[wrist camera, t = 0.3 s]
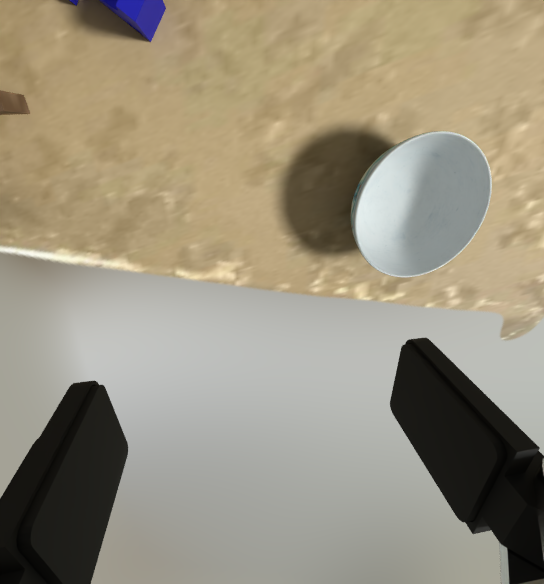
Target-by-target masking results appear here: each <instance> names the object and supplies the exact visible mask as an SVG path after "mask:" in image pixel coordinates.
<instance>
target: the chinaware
mask: <svg viewBox="0 0 544 584" xmlns="http://www.w3.org/2000/svg"><path fill="white" fill-rule="evenodd" d="M491 188H492V180H491V172H490V168H489V164H488V161H487V159H486V157H485V155H484V153H483V152H482V150H481V149H480V148H479V147H478V146H477V145H476V144H475V143H474V142H473V141H472V140H470V139H469V138H467V137H465V136H463V135H460V134H457V133H454V132H447V131H436V132H429V133H424V134H421V135H417V136H414V137H412V138H409V139H407V140H405V141H403V142H400V143H399V144H397V145H395V146H393V147H392V148H390V149H389V150H387V151H386V152H385V153H383V154H382V155H381V156H380V157H379V158H378V159H377V160H376V161H375V162H374V163H373V164H372V165H371V166H370V167H369V168H368V170H367V171H366V172H365V174H364V175H363V177H362V179H361V180H360V182H359V184H358V186H357V189H356V191H355V194H354V197H353V201H352V207H351V226H352V232H353V236H354V239H355V242H356V244H357V246H358V248H359V250H360V252H361V254H362V255H363V257H364V258H365V259H366V260H367V262H368V263H369V264H370V265H371V266H373V267H374V268H375V269H377V270H378V271H380V272H382V273H384V274H387V275H390V276H395V277H414V276H419V275H423V274H426V273H429V272H431V271H434V270H436V269H438V268H440V267H442V266H443V265H445V264H446V263H448V262H449V261H451V260H452V259H453V258H454V257H456V256H457V255H458V254H459V253H460V252H461V251H462V250H463V249H464V248H465V247H466V246H467V245H468V244H469V242H470V241H471V240H472V238H473V237H474V236H475V234H476V233H477V231H478V229H479V228H480V226H481V224H482V222H483V220H484V217H485V215H486V212H487V209H488V206H489V202H490V197H491Z"/></svg>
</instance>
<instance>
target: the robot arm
mask: <svg viewBox="0 0 544 584" xmlns="http://www.w3.org/2000/svg"><path fill="white" fill-rule="evenodd" d="M390 407H391V410H392V413H393V415H394V416H395V418H396V419H397V421H398V423H399V424H400V426H401V428H402V429H403V431H404V432H405V434H406V436H407V437H408V439H409V440H410V442H411V444H412V445H413V447H414V449H415V450H416V452H417V453H418V455H419V456H420V458H421V460H422V462H423V463H424V465H425V466H426V468H427V469H428V471H429V473H430V474H431V476H432V478H433V479H434V481H435V483H436V484H437V486H438V487H439V489H440V491H441V492H442V494H443V495H444V497H445V499H446V500H447V502H448V503H449V505H450V507H451V508H452V510H453V512H454V513H455V515H456V516H457V518H458V519H459V520H461V521H462V522H465V523H466V524H467V526H468V527H469V529H470V530H471V532H472V533H473V534H476V533H480V532H485V531H490V530H492V532H493V533H494V535H495V536H496V538H497V539H498V541H499V546H500V569H501V570H500V572H501V584H544V456H543V455H542V454H541V453H540V452H539V451H538V450H539V447H538V446H537V445H536V444H535V443H534V442H533V441H532V440H531V439H530V438H529V437H528V436H527V435H526V434H525V433H524V432H523V431H522V430H521V429H520V428H519V427H518V426H517V425H516V424H514V422H512V420H511V419H510V418H509V417H508V416H507V415H506V414H504V412H502V411H501V410H500V409H499V408H498V407H497V406H496V405H495V404H494V403H493V402H492V401H491V400H490V399H489V398H488V397H487V396H486V395H485V394H484V393H483V392H482V391H481V390H480V389H479V388H478V387H477V386H476V385H475V384H474V383H473V382H472V381H471V380H470V379H469V378H468V377H467V376H466V375H465V374H464V373H463V372H462V371H461V370H460V369H458V367H456V365H455V364H454V363H453V362H451V360H449V359H448V358H447V357H446V356H445V355H444V354H443V353H442V352H441V351H440V350H439V349H438V348H437V347H436V346H435V345H434V344H433V343H432V342H431V341H430V340H429V339H427V338H418V339H411V340H408V341H407V342H406V344H405V345H403V346H402V348H401V352H400V357H399V362H398V367H397V371H396V376H395V381H394V386H393V391H392V396H391V401H390ZM127 455H128V444H127V441H126V439H125V436H124V433H123V431H122V429H121V426H120V424H119V421H118V419H117V416H116V414H115V411H114V409H113V406H112V404H111V401H110V399H109V396H108V394H107V391H106V389H105V387H104V386H103V385H99V384H98V383H97V382H96V381H88V382H80V383H74V384H72V385H71V386H70V387H69V389H68V390H67V392H66V394H65V395H64V397H63V399H62V401H61V402H60V404H59V405H58V407H57V409H56V411H55V412H54V414H53V416H52V417H51V419H50V421H49V422H48V424H47V426H46V428H45V429H44V431H43V432H42V434H41V436H40V437H39V438H38V439H37V440H36V441H35V443H34V444H33V445H32V447H31V449H30V450H29V452H28V454H27V455H26V457H25V459H24V460H23V462H22V464H21V465H20V467H19V469H18V470H17V472H16V474H15V475H14V477H13V478H12V480H11V482H10V484H9V485H8V487H7V489H6V490H5V492H4V493H3V495H2V497H1V498H0V584H91V580H92V577H93V573H94V570H95V566H96V563H97V559H98V555H99V552H100V549H101V545H102V541H103V538H104V535H105V531H106V528H107V525H108V521H109V517H110V514H111V511H112V507H113V503H114V500H115V497H116V493H117V490H118V486H119V483H120V479H121V476H122V472H123V469H124V466H125V462H126V458H127Z"/></svg>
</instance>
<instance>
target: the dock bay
mask: <svg viewBox="0 0 544 584" xmlns="http://www.w3.org/2000/svg"><path fill="white" fill-rule="evenodd" d="M8 114H30V111H29V109H28V106H27V103H26V100H25V97H24V95H20V94H15V93H10V92H5V91H0V115H8Z"/></svg>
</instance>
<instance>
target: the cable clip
mask: <svg viewBox="0 0 544 584" xmlns="http://www.w3.org/2000/svg"><path fill="white" fill-rule="evenodd" d="M70 1H71V2H72V3H73V4H75V5H76V6H77V3H78V0H70ZM99 1H101V2H102V3H103V4H104V5H105V6H107V7H108V8H109V9H110V10H112V11H113V12H114V13H115V14H117V15H118V16H119V17H120V18H122V19H123V20H124V21H125V22H127V23H128V24H129V25H130V26H131V27H133V28H134V29H135V30H136V31H138V32H139V33H140V34H141V35H143V36H144V37H145V38H146V39H148V40H149V41H150V42H151V40H152V38H153V36H154V34H155V31H156V29H157V27H158V25H159V23H160V20H161V18H162V16H163V14H164V11H165V9H166V7H165V5H164V3H163V0H99Z"/></svg>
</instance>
